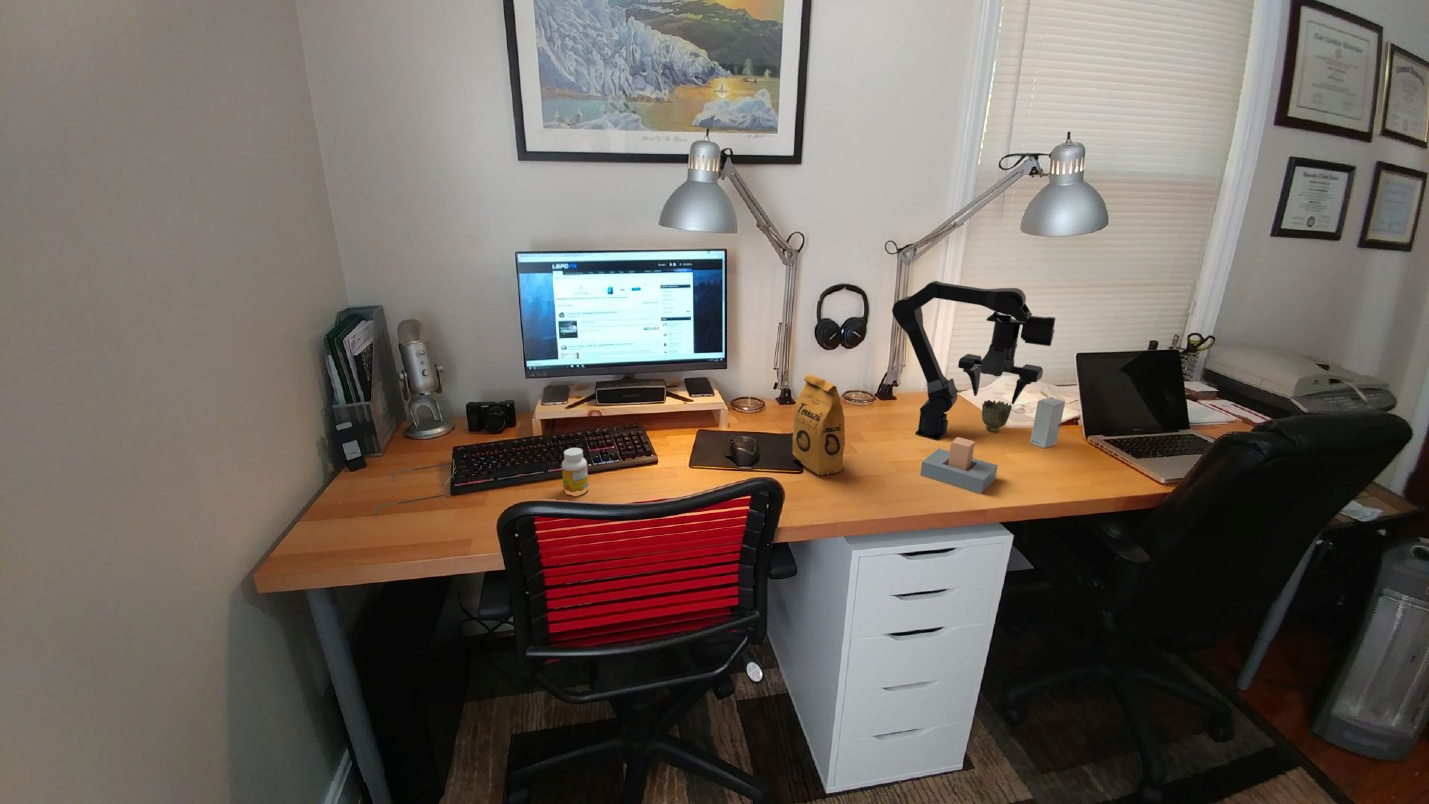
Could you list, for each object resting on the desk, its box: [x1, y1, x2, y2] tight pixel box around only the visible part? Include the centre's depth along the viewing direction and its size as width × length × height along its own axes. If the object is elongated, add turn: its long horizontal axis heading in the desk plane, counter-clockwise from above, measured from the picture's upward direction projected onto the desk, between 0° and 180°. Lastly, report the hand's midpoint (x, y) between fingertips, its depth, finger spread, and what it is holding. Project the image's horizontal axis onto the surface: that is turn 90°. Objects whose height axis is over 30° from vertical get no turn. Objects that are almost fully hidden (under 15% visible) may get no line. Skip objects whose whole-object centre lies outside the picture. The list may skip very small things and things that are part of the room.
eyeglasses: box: [373, 458, 456, 514], centre depth 131 cm, size 16×15×5 cm
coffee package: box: [791, 373, 846, 476], centre depth 142 cm, size 10×12×22 cm
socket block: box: [919, 448, 999, 495], centre depth 140 cm, size 14×10×4 cm
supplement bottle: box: [561, 447, 589, 492], centre depth 131 cm, size 5×5×10 cm
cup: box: [981, 399, 1013, 433], centre depth 166 cm, size 8×7×8 cm
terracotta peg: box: [948, 436, 976, 471], centre depth 139 cm, size 4×4×9 cm
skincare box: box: [1029, 397, 1066, 449], centre depth 158 cm, size 6×4×12 cm
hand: (993, 399), depth 153 cm, fingers open, 9 cm apart
